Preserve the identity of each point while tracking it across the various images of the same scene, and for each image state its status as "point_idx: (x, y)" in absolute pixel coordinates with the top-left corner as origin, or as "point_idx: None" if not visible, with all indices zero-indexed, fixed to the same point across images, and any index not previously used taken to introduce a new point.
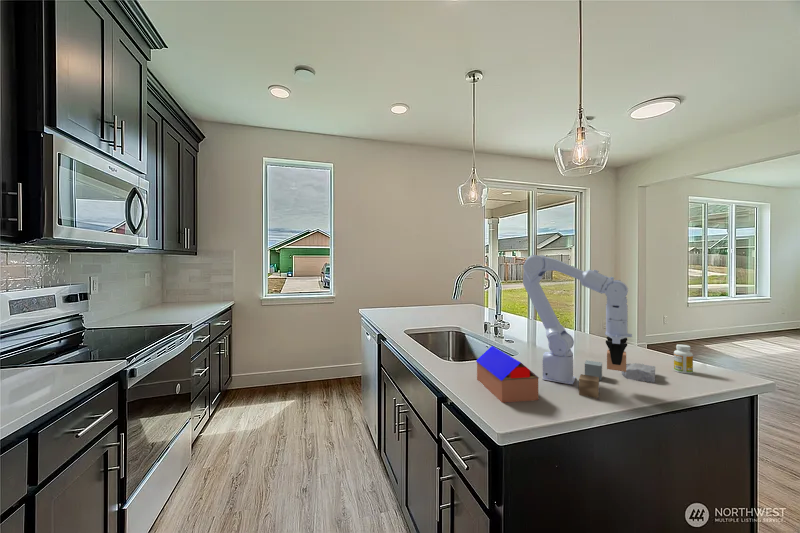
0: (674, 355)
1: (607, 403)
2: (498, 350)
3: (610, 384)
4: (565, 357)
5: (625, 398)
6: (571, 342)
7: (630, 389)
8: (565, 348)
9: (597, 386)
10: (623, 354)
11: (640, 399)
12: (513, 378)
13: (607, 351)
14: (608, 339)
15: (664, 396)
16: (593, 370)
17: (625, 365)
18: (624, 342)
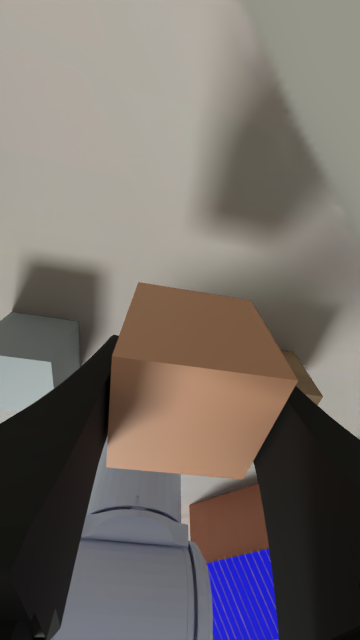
0: None
1: (336, 332)
2: (267, 638)
3: (115, 295)
4: (178, 519)
5: (274, 268)
6: (103, 601)
7: (146, 224)
8: (209, 588)
9: (312, 383)
10: (259, 395)
11: (273, 208)
12: (224, 508)
13: (181, 472)
14: (64, 605)
15: (190, 47)
16: (64, 369)
17: (263, 327)
18: (60, 488)
